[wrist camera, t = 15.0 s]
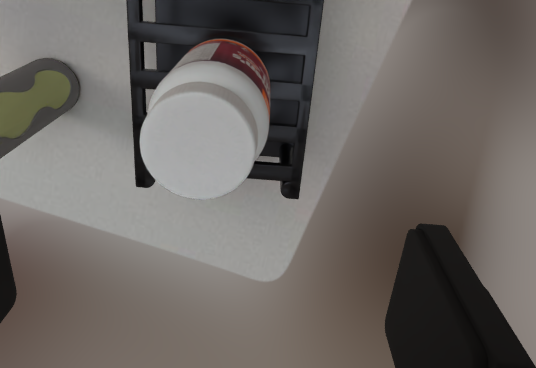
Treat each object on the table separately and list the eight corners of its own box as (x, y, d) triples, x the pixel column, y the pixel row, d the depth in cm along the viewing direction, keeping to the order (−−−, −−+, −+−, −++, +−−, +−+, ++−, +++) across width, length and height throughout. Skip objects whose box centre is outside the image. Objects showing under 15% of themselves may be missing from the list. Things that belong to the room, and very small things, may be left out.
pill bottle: (287, 99, 31) (295, 170, 20) (211, 145, 32) (184, 232, 22) (236, 16, 28) (216, 50, 18) (157, 69, 30) (98, 128, 20)
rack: (313, -41, 37) (329, -41, 27) (292, 144, 44) (298, 199, 34) (163, -55, 36) (122, -60, 26) (166, 135, 43) (135, 187, 34)
